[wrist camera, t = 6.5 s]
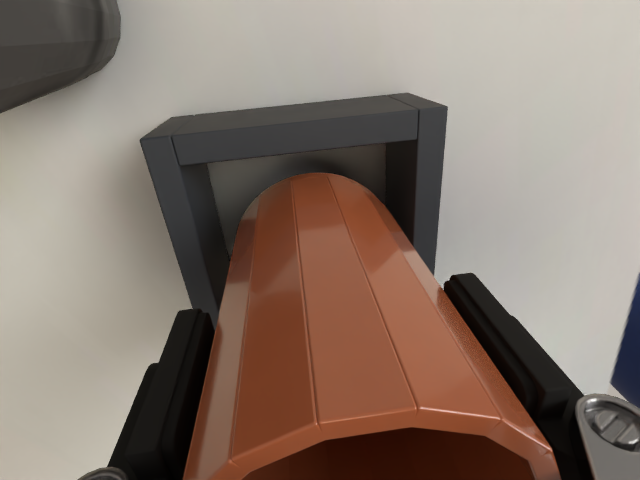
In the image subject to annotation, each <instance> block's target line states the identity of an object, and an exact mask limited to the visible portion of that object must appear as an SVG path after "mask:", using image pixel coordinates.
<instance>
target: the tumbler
mask: <svg viewBox="0 0 640 480" xmlns="http://www.w3.org/2000/svg"><path fill="white" fill-rule="evenodd" d="M181 480H562V478H561V475H560V472H559V469H558V465H557V462H556V459H555V456H554V453H553V450H552V448H551V446H550V445H549V443H548V442H547V440H546V439H545V438H544V436H543V435H542V433H541V432H540V430H539V429H538V427H537V426H536V424H535V423H534V422H533V420H532V419H531V417H530V416H529V414H528V413H527V411H526V410H525V408H524V407H523V406H522V404H521V403H520V401H519V400H518V398H517V397H516V395H515V394H514V392H513V391H512V390H511V388H510V387H509V385H508V384H507V382H506V381H505V379H504V378H503V376H502V375H501V374H500V372H499V371H498V369H497V368H496V366H495V365H494V363H493V362H492V360H491V359H490V358H489V356H488V355H487V353H486V352H485V350H484V349H483V347H482V346H481V344H480V343H479V342H478V340H477V339H476V337H475V336H474V334H473V333H472V331H471V330H470V328H469V327H468V326H467V324H466V323H465V321H464V320H463V318H462V317H461V315H460V314H459V312H458V311H457V310H456V308H455V307H454V305H453V304H452V302H451V301H450V299H449V298H448V296H447V295H446V294H445V292H444V291H443V289H442V288H441V286H440V285H439V283H438V282H437V280H436V279H435V278H434V276H433V275H432V273H431V272H430V270H429V269H428V267H427V266H426V265H425V263H424V262H423V260H422V259H421V257H420V256H419V254H418V253H417V251H416V250H415V249H414V247H413V246H412V244H411V243H410V241H409V240H408V238H407V237H406V235H405V234H404V233H403V231H402V230H401V228H400V227H399V225H398V224H397V222H396V221H395V219H394V218H393V217H392V215H391V214H390V212H389V211H388V209H387V208H386V207H385V205H384V204H383V203H381V202H380V201H379V199H378V198H377V197H376V196H375V195H374V194H373V193H372V192H371V191H370V190H369V189H367V188H366V187H364V186H363V185H362V184H360V183H358V182H356V181H354V180H352V179H349V178H347V177H344V176H341V175H336V174H331V173H320V172H319V173H305V174H300V175H295V176H292V177H289V178H286V179H283V180H281V181H279V182H277V183H275V184H273V185H272V186H270V187H269V188H267V189H266V190H264V191H263V192H262V193H261V194H259V195H258V196H257V197H256V198H255V199H254V201H253V202H252V203H251V204H250V205H249V207H248V208H247V210H246V211H245V212H244V214H243V216H242V218H241V220H240V223H239V225H238V229H237V233H236V237H235V242H234V246H233V250H232V254H231V259H230V263H229V268H228V272H227V277H226V281H225V286H224V290H223V295H222V299H221V304H220V308H219V313H218V317H217V322H216V326H215V331H214V335H213V340H212V344H211V349H210V353H209V358H208V362H207V367H206V371H205V376H204V380H203V385H202V389H201V394H200V398H199V403H198V407H197V412H196V416H195V421H194V425H193V430H192V434H191V439H190V443H189V448H188V452H187V457H186V461H185V466H184V470H183V475H182V479H181Z"/></svg>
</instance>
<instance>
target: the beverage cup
mask: <svg viewBox="0 0 640 480" xmlns="http://www.w3.org/2000/svg"><path fill="white" fill-rule="evenodd" d="M119 40H120V13H119V9H118V5H117V2H116V0H0V113H2V112H5V111H7V110H10V109H12V108H15V107H17V106H20V105H22V104H25V103H27V102H30V101H32V100H35V99H37V98H40V97H42V96H45V95H47V94H50V93H52V92H55V91H57V90H60V89H62V88H65V87H67V86H69V85H72V84H74V83H76V82H78V81H80V80H82V79H84V78H87V77H88V76H89V75H90V74H92V73H95V72H97V71H99V70H101V69H102V68H103V67H104V66H105V65H106V64H107V63H108V62H109V61H110V59H111V58H112V57H113V56H114V54H115V51H116V48H117V45H118V42H119Z"/></svg>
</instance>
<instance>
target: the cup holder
mask: <svg viewBox="0 0 640 480" xmlns="http://www.w3.org/2000/svg"><path fill="white" fill-rule="evenodd" d="M447 110H448V107H447V106H445V105H442V104H439V103H436V102H433V101H430V100H427V99H424V98H421V97H419V96H416V95H413V94H410V93H402V94H392V95H387V96H386V95H382V96H372V97H363V98H353V99H343V100H334V101H324V102H314V103H304V104H295V105H285V106H275V107H266V108H256V109H246V110H237V111H227V112H217V113H208V114H198V115H195V116H193V115H189V116H180V117H171V118H170V119H168V120H167V121H166V122H164V123H163V124H161V125H160V126H158V127H157V128H155V129H154V130H153V131H151V132H150V133H148V134H147V135H145V136H144V137H142V138H141V139H140V143H141V147H142V150H143V153H144V156H145V159H146V162H147V165H148V169H149V172H150V175H151V178H152V181H153V184H154V188H155V191H156V194H157V197H158V200H159V203H160V207H161V210H162V213H163V216H164V219H165V222H166V226H167V229H168V232H169V235H170V238H171V241H172V244H173V248H174V251H175V254H176V257H177V260H178V263H179V267H180V270H181V273H182V276H183V279H184V282H185V286H186V289H187V292H188V295H189V298H190V301H191V304H192V308H193V309H196V308H200V309H201V310H202V311H203V313H206V312H208V313H209V314H210V317H211V320H212V324H213V327H214V330H215V326H216V322H217V317H218V313H219V308H220V304H221V299H222V295H223V290H224V286H225V281H226V277H227V272H228V268H229V259H228V254H227V250H226V246H225V242H224V237H223V233H222V229H221V225H220V221H219V216H218V212H217V208H216V204H215V199H214V195H213V191H212V187H211V183H210V178H209V174H208V170H207V166H206V163H211V162H220V161H229V160H238V159H247V158H256V157H265V156H274V155H283V154H292V153H301V152H310V151H319V150H328V149H337V148H346V147H355V146H364V145H373V144H382V143H386V208H387V209H388V211H389V212H390V214H391V215H392V217H393V218H394V219H395V221H396V222H397V224H398V225H399V227H400V228H401V230H402V231H403V233H404V234H405V235H406V237H407V238H408V240H409V241H410V243H411V244H412V246H413V247H414V249H415V250H416V251H417V253H418V254H419V256H420V257H421V259H422V260H423V262H424V263H425V265H426V266H427V267H428V269H429V270H430V272H431V273H432V275H433V276H434V269H435V257H436V245H437V233H438V220H439V208H440V196H441V184H442V171H443V159H444V147H445V135H446V122H447Z"/></svg>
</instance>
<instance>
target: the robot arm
mask: <svg viewBox="0 0 640 480" xmlns="http://www.w3.org/2000/svg"><path fill="white" fill-rule="evenodd" d="M444 292H445V294H446V295H447V296H448V298H449V299H450V301H451V302H452V304H453V305H454V307H455V308H456V310H457V311H458V312H459V314H460V315H461V317H462V318H463V320H464V321H465V323H466V324H467V326H468V327H469V328H470V330H471V331H472V333H473V334H474V336H475V337H476V339H477V340H478V342H479V343H480V344H481V346H482V347H483V349H484V350H485V352H486V353H487V355H488V356H489V358H490V359H491V360H492V362H493V363H494V365H495V366H496V368H497V369H498V371H499V372H500V374H501V375H502V376H503V378H504V379H505V381H506V382H507V384H508V385H509V387H510V388H511V390H512V391H513V392H514V394H515V395H516V397H517V398H518V400H519V401H520V403H521V404H522V406H523V407H524V408H525V410H526V411H527V413H528V414H529V416H530V417H531V419H532V420H533V422H534V423H535V424H536V426H537V427H538V429H539V430H540V432H541V433H542V435H543V436H544V438H545V439H546V440H547V442H548V443H549V445H550V446H551V448H552V450H553V453H554V456H555V459H556V462H557V465H558V469H559V472H560V475H561V478H562V480H640V409H639V408H638V407H636V406H635V405H633V404H631V403H629V402H627V401H625V400H622V399H620V398H617V397H614V396H610V395H606V394H590V395H585V396H584V395H583V394H582V392H581V391H580V390H579V389H578V388H577V387H576V386H575V384H574V383H573V382H572V381H571V380H570V379H569V378H568V377H567V375H566V374H565V373H564V372H563V371H562V370H561V369H560V368H559V366H558V365H557V364H556V363H555V362H554V361H553V360H552V358H551V357H550V356H549V355H548V354H547V353H546V352H545V351H544V349H543V348H542V347H541V346H540V345H539V344H538V343H537V341H536V340H535V339H534V338H533V337H532V336H531V335H530V334H529V332H528V331H527V330H526V329H525V328H524V327H523V326H522V324H521V323H520V322H519V321H518V320H517V319H516V318H515V317H514V316H511V315H510V314H509V313H508V312H507V311H506V310H505V309H504V308H503V306H502V305H501V304H500V303H499V302H498V301H497V299H496V298H495V297H494V296H493V295H492V294H491V293H490V291H489V290H488V289H487V288H486V287H485V286H484V285H483V283H482V282H481V281H480V280H479V279H478V278H477V277H476V275H474V274H473V273H466V274H458V275H452V276H451V277H450V281H446V282H445V283H444ZM214 331H215V330H214V327H213V324H212V320H211V317H210V314H209V313H208V312H206V313H203V311H202V310H201V309H200V308H196V309H189V310H181V311H179V312H178V313H177V315H176V318H175V321H174V323H173V326H172V329H171V331H170V334H169V337H168V339H167V342H166V345H165V347H164V350H163V353H162V355H161V358H160V361H159V363H153V364H151V365H150V366H149V367H148V369H147V371H146V373H145V375H144V378H143V380H142V382H141V385H140V387H139V390H138V392H137V395H136V397H135V400H134V402H133V405H132V407H131V410H130V412H129V414H128V417H127V419H126V422H125V424H124V427H123V429H122V432H121V434H120V437H119V439H118V442H117V444H116V446H115V449H114V451H113V454H112V456H111V459H110V461H109V464H108V466H107V467H106V468H99V469H97V470H94V471H92V472H89V473H87V474H85V475H84V476H82V477H81V478H79V479H77V480H181V479H182V475H183V470H184V466H185V461H186V457H187V452H188V448H189V443H190V439H191V434H192V430H193V425H194V421H195V416H196V412H197V407H198V403H199V398H200V394H201V389H202V385H203V380H204V376H205V371H206V367H207V362H208V358H209V353H210V349H211V344H212V340H213V335H214Z"/></svg>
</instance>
